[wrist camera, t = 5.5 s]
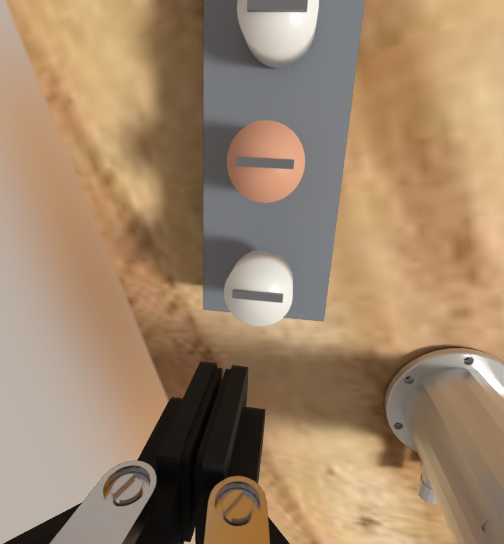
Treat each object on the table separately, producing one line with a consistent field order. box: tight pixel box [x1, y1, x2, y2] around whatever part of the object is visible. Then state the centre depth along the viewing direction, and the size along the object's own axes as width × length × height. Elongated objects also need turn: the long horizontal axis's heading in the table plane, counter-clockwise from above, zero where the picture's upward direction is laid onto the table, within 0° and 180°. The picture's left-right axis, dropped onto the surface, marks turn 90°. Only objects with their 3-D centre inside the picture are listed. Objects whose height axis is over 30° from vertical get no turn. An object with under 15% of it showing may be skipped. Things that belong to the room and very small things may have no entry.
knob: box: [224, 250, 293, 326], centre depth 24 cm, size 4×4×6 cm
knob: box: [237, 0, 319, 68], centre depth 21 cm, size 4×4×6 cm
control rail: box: [203, 0, 365, 321], centre depth 26 cm, size 24×10×5 cm, turn 177°
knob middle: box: [227, 120, 305, 203], centre depth 22 cm, size 4×4×6 cm
